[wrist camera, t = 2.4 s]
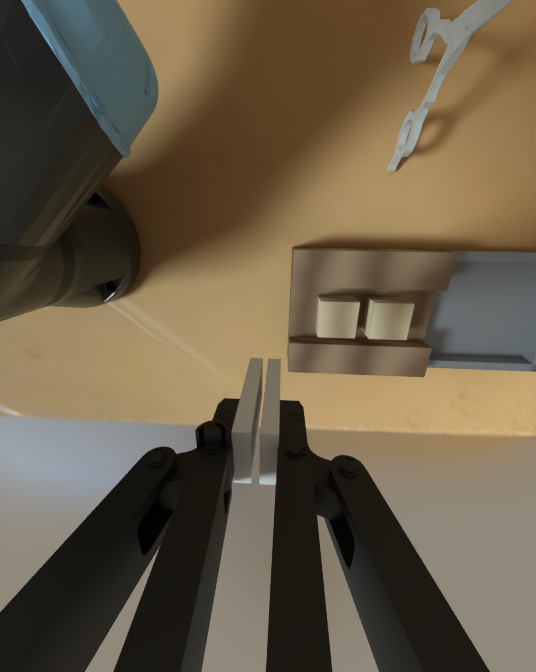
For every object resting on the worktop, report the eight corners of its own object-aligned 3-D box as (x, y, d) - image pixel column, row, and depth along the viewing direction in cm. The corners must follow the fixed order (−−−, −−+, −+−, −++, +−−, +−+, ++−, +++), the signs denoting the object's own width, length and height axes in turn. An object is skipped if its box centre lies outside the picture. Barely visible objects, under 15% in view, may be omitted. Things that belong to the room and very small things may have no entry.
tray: (413, 358, 36) (422, 367, 33) (439, 249, 30) (452, 251, 28) (521, 362, 35) (537, 371, 33) (566, 252, 30) (590, 253, 27)
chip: (361, 329, 31) (368, 338, 28) (366, 296, 30) (374, 302, 27) (395, 330, 31) (406, 340, 28) (402, 297, 30) (414, 304, 27)
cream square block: (314, 327, 32) (317, 337, 29) (317, 295, 30) (320, 301, 27) (348, 329, 31) (354, 338, 29) (352, 295, 30) (360, 302, 27)
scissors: (404, 42, 25) (822, -666, 6) (413, 41, 24) (863, -672, 6) (386, 172, 28) (609, 8, 9) (394, 172, 28) (633, 7, 9)
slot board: (287, 353, 36) (288, 371, 32) (292, 247, 31) (294, 249, 26) (405, 358, 36) (424, 377, 31) (430, 249, 30) (457, 252, 26)
